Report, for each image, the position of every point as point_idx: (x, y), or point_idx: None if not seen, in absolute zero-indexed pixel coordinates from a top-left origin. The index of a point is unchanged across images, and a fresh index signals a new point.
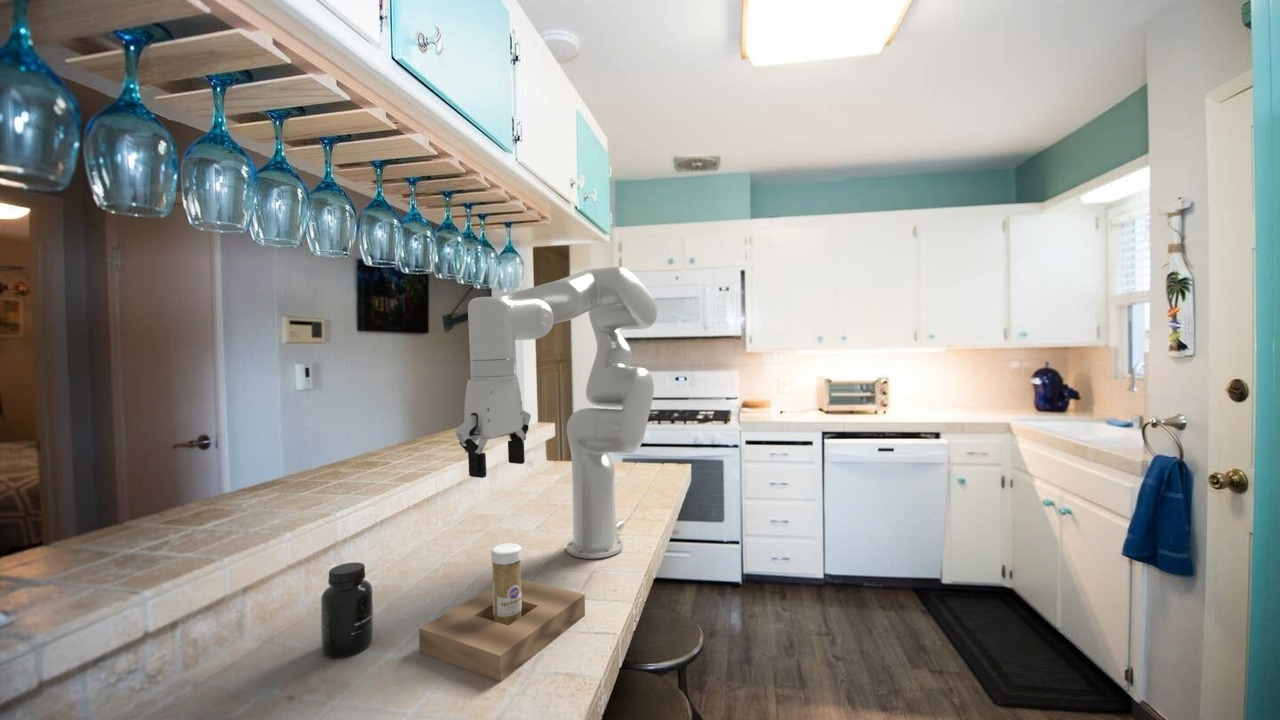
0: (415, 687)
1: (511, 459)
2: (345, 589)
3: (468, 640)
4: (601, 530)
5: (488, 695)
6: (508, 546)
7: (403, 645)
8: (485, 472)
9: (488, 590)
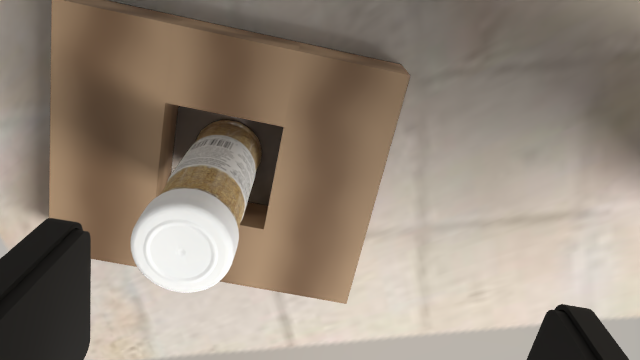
0: None
1: (548, 353)
2: None
3: (63, 158)
4: None
5: (32, 225)
6: (193, 253)
7: None
8: None
9: (304, 57)
